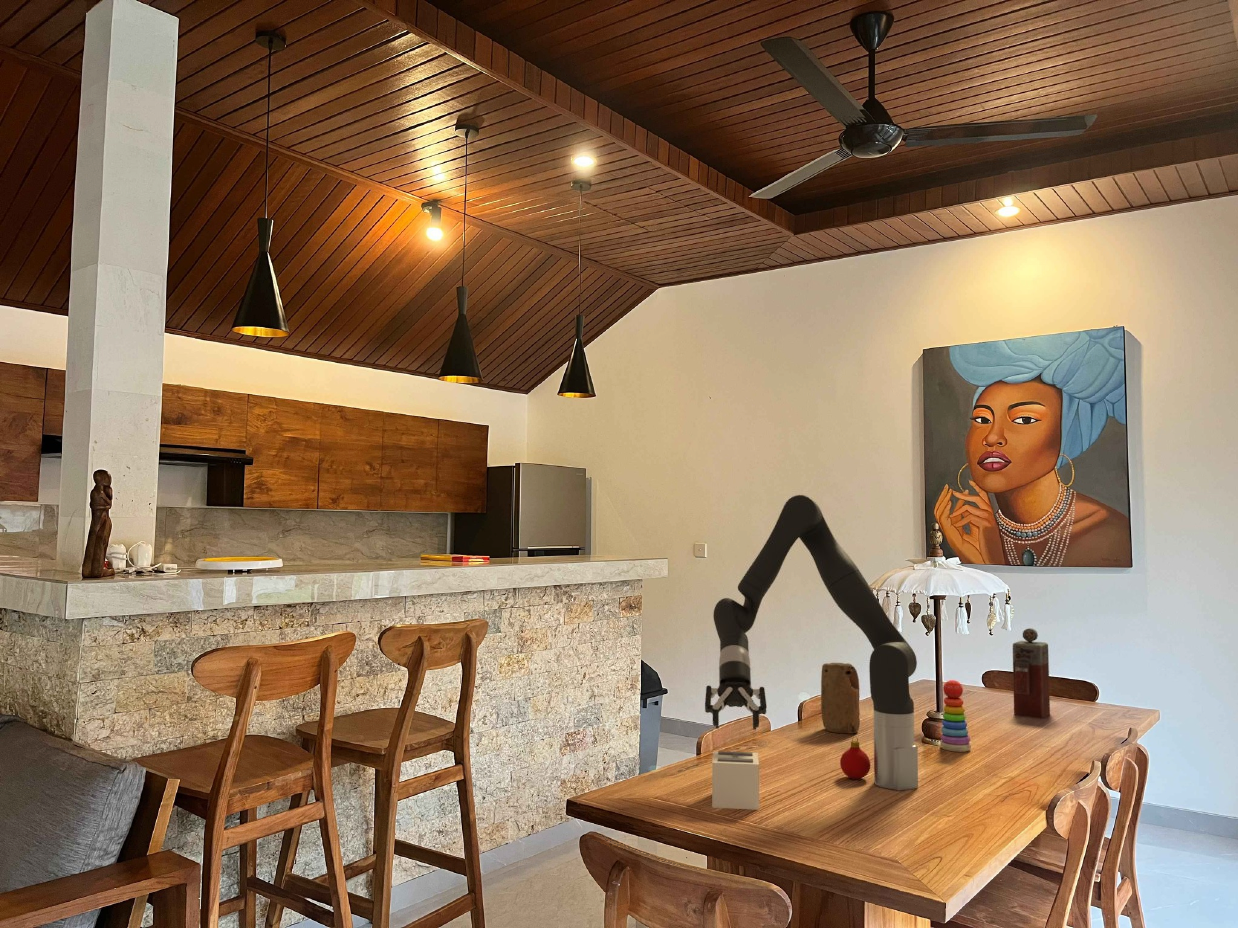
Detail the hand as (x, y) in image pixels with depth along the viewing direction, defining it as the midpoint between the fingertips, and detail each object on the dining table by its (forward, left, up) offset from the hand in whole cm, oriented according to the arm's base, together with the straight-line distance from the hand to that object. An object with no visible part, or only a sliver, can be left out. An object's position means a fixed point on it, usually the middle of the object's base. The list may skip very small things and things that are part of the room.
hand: (736, 727), depth 205 cm
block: (+40, -63, -15) cm, 76 cm away
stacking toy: (+10, -78, -15) cm, 80 cm away
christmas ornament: (-2, -33, -15) cm, 36 cm away
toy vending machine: (+34, -136, -15) cm, 141 cm away
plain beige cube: (-5, +4, -5) cm, 8 cm away
